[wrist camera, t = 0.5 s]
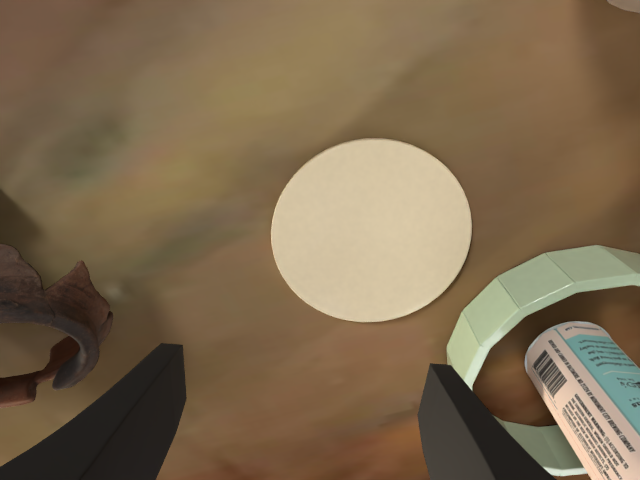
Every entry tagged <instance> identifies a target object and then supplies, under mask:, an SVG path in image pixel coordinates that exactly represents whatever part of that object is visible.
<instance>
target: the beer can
mask: <svg viewBox="0 0 640 480" xmlns="http://www.w3.org/2000/svg"><path fill="white" fill-rule="evenodd" d="M525 369H526V371H527V374H528V375H529V377H530V379H531V380H532V382H533V384H534V385H535V387H536V389H537V390H538V392H539V394H540V395H541V397H542V399H543V400H544V402H545V404H546V405H547V407H548V409H549V410H550V412H551V413H552V415H553V417H554V418H555V420H556V422H557V423H558V425H559V427H560V428H561V430H562V432H563V433H564V435H565V437H566V438H567V440H568V442H569V443H570V445H571V447H572V448H573V450H574V451H575V453H576V455H577V456H578V458H579V460H580V461H581V463H582V465H583V466H584V468H585V470H586V471H587V473H588V475H589V476H590V478H591V480H640V368H639V367H638V366H637V365H636V364H635V363H634V362H633V361H632V360H631V359H630V358H629V357H628V356H627V355H626V354H625V353H624V352H623V351H622V349H621V348H620V347H619V346H618V345H617V344H616V343H615V342H614V341H613V340H612V339H611V337H610V335H609V334H608V333H607V332H606V331H605V330H604V329H603V328H601V327H600V326H598V325H596V324H593V323H590V322H581V321H572V322H565V323H561V324H558V325H555V326H553V327H551V328H549V329H547V330H545V331H544V332H542V333H541V334H540V335H539V336H538V337H537V338H536V339H535V340H534V341H533V342H532V344H531V345H530V346H529V348H528V350H527V353H526V356H525Z"/></svg>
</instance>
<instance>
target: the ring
mask: <svg viewBox="0 0 640 480" xmlns="http://www.w3.org/2000/svg"><path fill="white" fill-rule="evenodd" d="M628 285H636V286H640V254H638V253H634V252H629V251H624V250H620V249H615V248H610V247H605V246H601V245H593V246H586V247H580V248H573V249H566V250H559V251H553V252H546V253H543V254H541V255H539V256H537V257H535V258H533V259H531V260H529V261H527V262H525V263H523V264H521V265H519V266H517V267H515V268H513V269H511V270H509V271H506V272H504V273H502V274H500V275H498V276H497V277H496V278H495V279H494V280H493V281H492V282H491V283H490V284H489V285H488V286H487V287H486V288H485V289H484V290H483V291H482V292H481V293H479V294H478V295H477V296H476V297H475V298H474V299H473V300H472V301H471V302H470V303H469V304H468V305H467V306H466V307H465V308H464V309H463V311H462V312H461V315H460V317H459V319H458V322H457V324H456V326H455V329H454V331H453V333H452V336H451V338H450V340H449V343H448V345H447V363H448V365H451V366H452V367H453V368H454V369H455V371H456V372H457V373H458V374H459V375H460V377H461V378H462V379H463V380H464V381H465V383H466V384H467V385H468V386H469V388H470V389H471V390H472V391H473V386H472V385H473V383H474V381H475V379H476V377H477V375H478V373H479V371H480V369H481V367H482V365H483V363H484V360H485V358H486V356H487V354H488V352H489V350H490V348H492V347H493V346H494V345H495V344H496V343H497V342H498V341H499V340H500V339H501V338H502V337H504V336H505V335H506V334H507V333H508V332H509V331H510V330H511V329H512V328H513V327H515V326H516V325H517V324H518V323H519V322H520V321H521V320H522V319H523V318H524V317H525V316H527V315H529V314H532V313H534V312H536V311H538V310H540V309H542V308H545V307H547V306H549V305H551V304H553V303H555V302H558V301H560V300H562V299H564V298H566V297H568V296H571V295H573V294H575V293H578V292H585V291H592V290H599V289H607V288H614V287H621V286H628ZM493 416H494V415H493ZM494 417H495V416H494ZM495 418H496V419H497V421H498V422H499V423H500V424H501V425H502V426H503V427H504V428H505V429H506V431H507V432H508V433H509V434H510V435H511V436H512V437H513V438H514V439H515V440H516V441H517V442H518V443H519V444H520V445H521V446H522V447H523V448H524V449H525V450H526V451H527V452H528V453H529V454H530V455H531V456H532V457H533V458H534V459H535V460H536V461H537V462H538V463H539V464H540V465H541V466H542V467H543V468H544V469H545V470H546V471H547V472H549V473H550V474H551V475H554V476H568V475H578V474H588V473H587V471H586V470H585V468H584V466H583V465H582V463H581V461H580V460H579V458H578V456H577V455H576V453H575V451H574V450H573V448H572V447H571V445H570V443H569V442H568V440H567V438H566V437H565V435H564V433H563V432H562V430H561V428H560V427H559V425H553V426H544V427H535V426H529V425H524V424H518V423H512V422H507V421H502V420H501V419H499V418H497V417H495Z"/></svg>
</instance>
